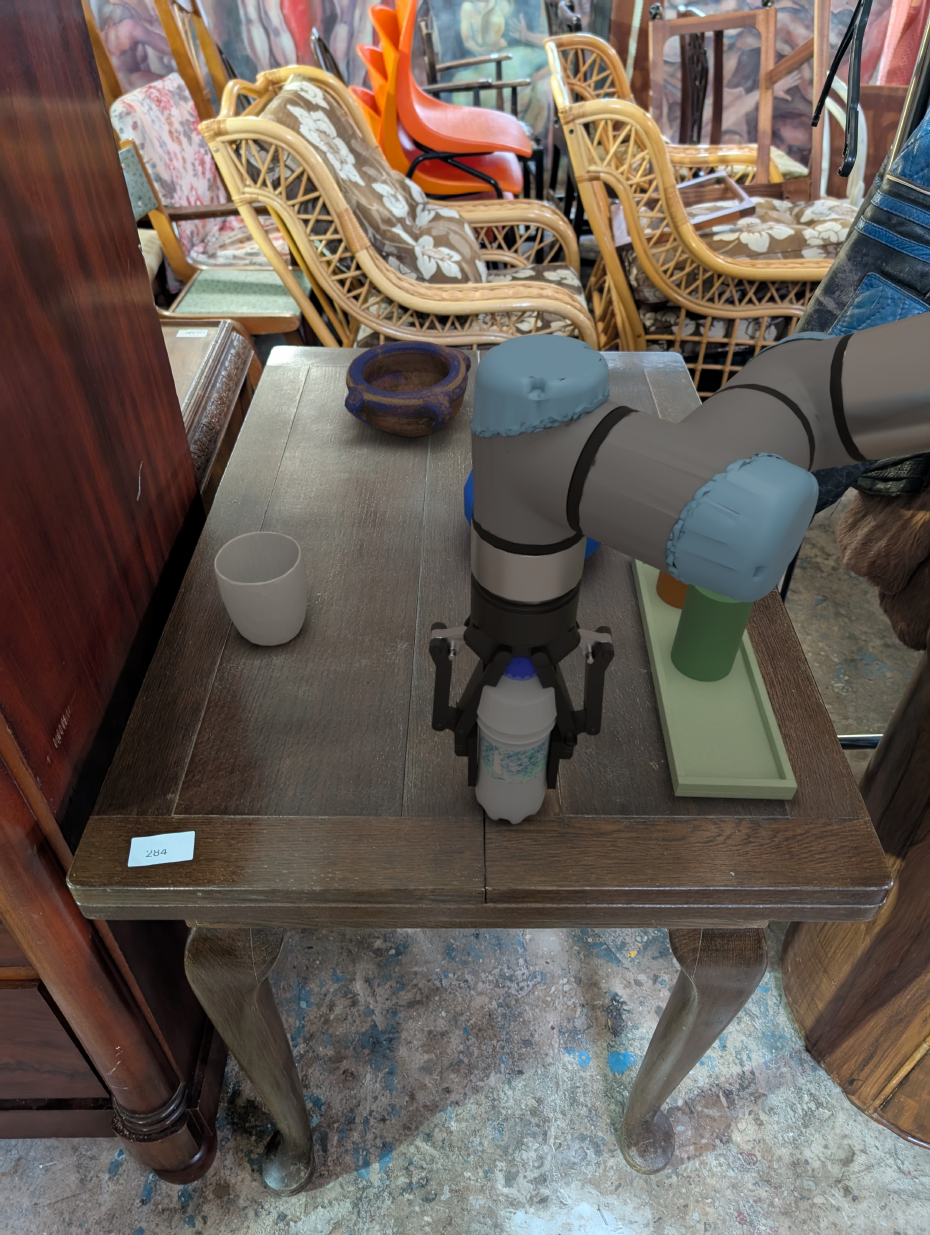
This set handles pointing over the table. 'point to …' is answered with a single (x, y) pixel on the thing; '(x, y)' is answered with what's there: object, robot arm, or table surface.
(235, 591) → the mug
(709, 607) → the green bottle
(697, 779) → the tray
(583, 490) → the robot arm
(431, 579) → the table surface
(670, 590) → the amber bottle
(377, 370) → the bowl
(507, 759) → the bottle
